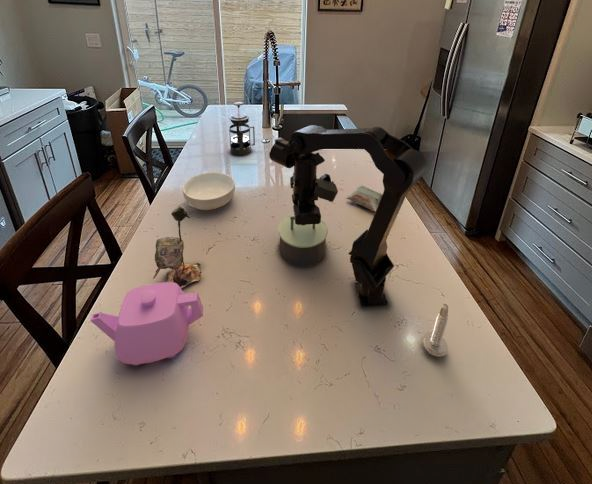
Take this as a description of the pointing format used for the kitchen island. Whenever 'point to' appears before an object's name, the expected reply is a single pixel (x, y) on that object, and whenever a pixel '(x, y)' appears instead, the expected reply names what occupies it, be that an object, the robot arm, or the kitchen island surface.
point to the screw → (437, 335)
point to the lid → (302, 233)
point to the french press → (240, 133)
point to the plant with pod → (175, 256)
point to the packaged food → (365, 198)
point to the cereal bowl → (209, 190)
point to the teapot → (151, 322)
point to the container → (302, 254)
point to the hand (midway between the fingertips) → (303, 223)
